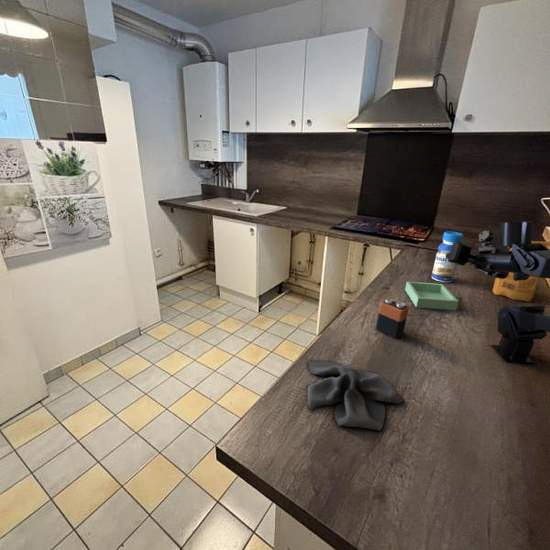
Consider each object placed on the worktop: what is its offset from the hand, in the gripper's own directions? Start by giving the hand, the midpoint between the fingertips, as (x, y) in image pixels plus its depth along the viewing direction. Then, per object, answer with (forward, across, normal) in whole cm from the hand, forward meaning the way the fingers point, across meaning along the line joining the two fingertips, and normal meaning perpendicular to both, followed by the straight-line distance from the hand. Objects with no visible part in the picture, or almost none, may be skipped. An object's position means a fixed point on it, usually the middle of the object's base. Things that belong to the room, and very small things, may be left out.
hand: (458, 259), depth 94 cm
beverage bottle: (+27, -18, +4) cm, 33 cm away
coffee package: (+12, -36, +4) cm, 38 cm away
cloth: (-25, +38, +41) cm, 61 cm away
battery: (-5, +19, +28) cm, 34 cm away
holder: (+11, -3, +15) cm, 19 cm away
